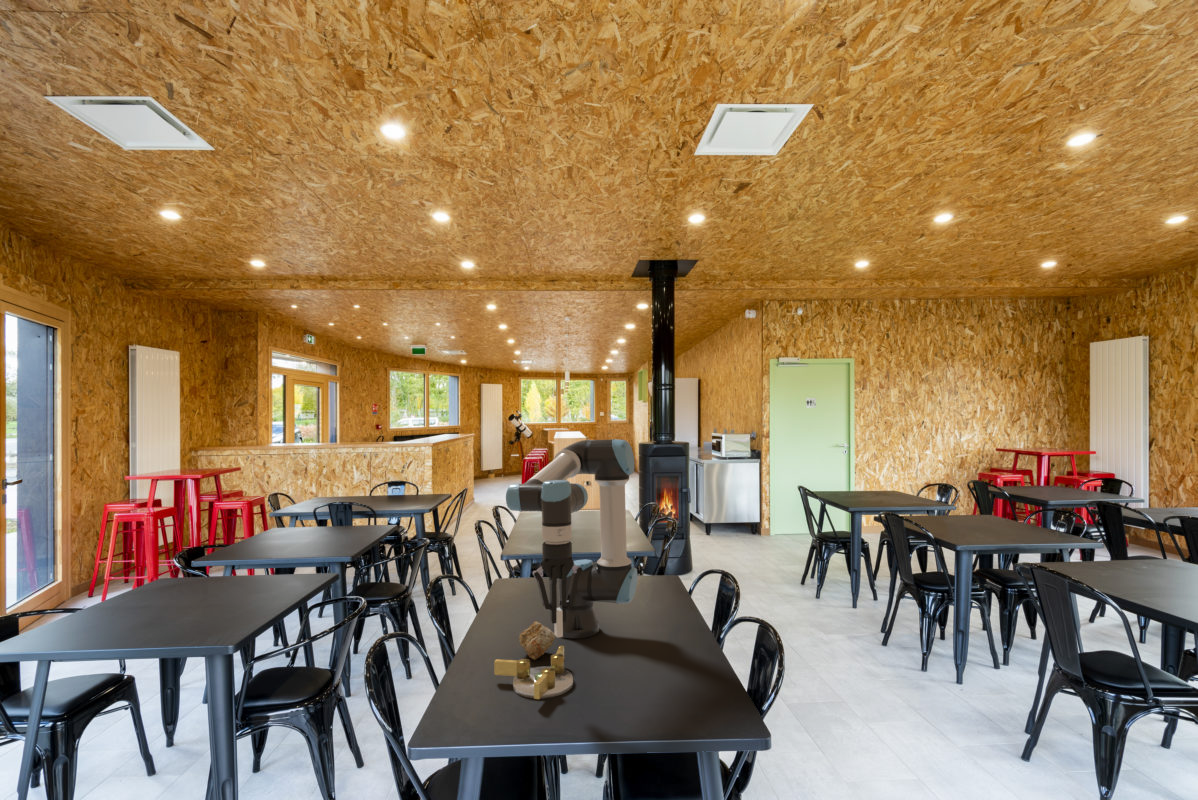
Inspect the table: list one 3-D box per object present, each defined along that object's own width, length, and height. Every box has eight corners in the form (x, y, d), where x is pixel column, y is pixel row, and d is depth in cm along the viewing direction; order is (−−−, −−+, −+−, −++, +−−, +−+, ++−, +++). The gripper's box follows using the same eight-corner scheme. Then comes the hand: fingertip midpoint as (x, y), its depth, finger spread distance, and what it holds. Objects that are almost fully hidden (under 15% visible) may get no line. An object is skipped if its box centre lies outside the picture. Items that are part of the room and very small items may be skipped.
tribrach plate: (500, 686, 153) (500, 674, 153) (543, 667, 165) (543, 656, 166) (542, 704, 143) (542, 691, 143) (585, 682, 155) (585, 670, 155)
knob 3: (563, 673, 156) (562, 658, 157) (549, 673, 157) (549, 658, 157) (568, 659, 166) (568, 645, 166) (555, 659, 167) (555, 645, 167)
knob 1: (531, 674, 157) (531, 659, 157) (527, 679, 153) (527, 664, 153) (497, 672, 158) (497, 657, 159) (492, 677, 155) (492, 662, 155)
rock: (559, 652, 177) (559, 619, 177) (546, 665, 167) (545, 630, 167) (524, 648, 180) (524, 615, 181) (509, 661, 171) (508, 626, 171)
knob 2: (544, 682, 151) (544, 667, 151) (557, 683, 150) (556, 668, 151) (529, 699, 142) (529, 682, 142) (543, 701, 141) (543, 684, 141)
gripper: (535, 546, 141) (536, 644, 140) (585, 541, 146) (587, 636, 144) (528, 540, 148) (530, 634, 147) (577, 536, 153) (578, 627, 151)
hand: (558, 635), depth 146 cm, fingers closed
